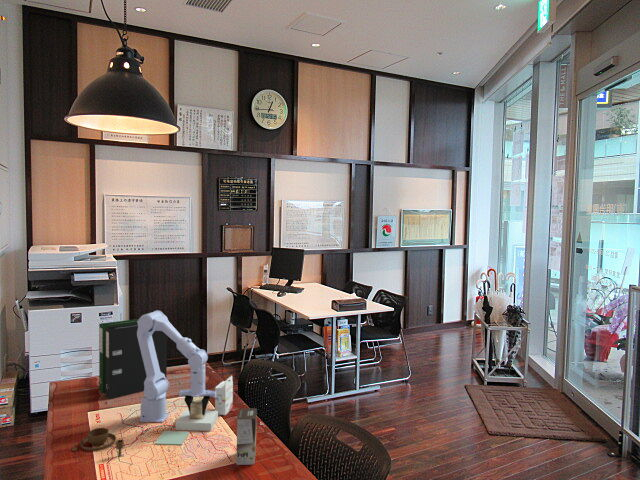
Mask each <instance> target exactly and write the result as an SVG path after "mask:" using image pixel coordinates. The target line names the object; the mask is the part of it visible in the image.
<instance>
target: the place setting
mask: <svg viewBox="0 0 640 480" xmlns="http://www.w3.org/2000/svg"><path fill="white" fill-rule="evenodd" d="M108 439H112V440H113V441H112V442H109V443H108V444H106V445H105V444H104V443H106V441H107V440H108ZM124 441H125V440H124V439H117V436H116V435H115V434H114V433H111V432H109V429H108V428H107V427H97V428H93V429H91V430H89V431H88V432H87V436H86V437H83V438H82V439H81V441H80V442H79V445H80V448H81V449H82V450H85V451H89V452H93V451H94V452H95V451H101V450H104V449H105V450H106V449H107V448H110V447H112V446H113V445H114V444H115V447H116V449H117V450H118V451H117V454H118V456H117V457H118V458H121V457H122V450H123V448H124V447H125V443H124ZM86 442H88V443H89V444H91V445H92V446H95V447H87V446H84V444H85V443H86ZM103 444H104V445H103ZM101 445H102V446H101ZM77 450H78V447H77V443H74V446H73V447H72V448H71V451H72V452H76V451H77Z"/></svg>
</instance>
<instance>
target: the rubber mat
mask: <svg viewBox="0 0 640 480" xmlns="http://www.w3.org/2000/svg"><path fill="white" fill-rule="evenodd" d="M189 434H190V431H185V430H176V431H175V430H168V431H167V430H163V432H162V433H161V434H160V435H159V437H158V438H157V440H156V441H155V442H154V445H158V446H159V445H160V446H162V445H163V446H164V445H166V446H169V445H170V446H182V445H183V444H184V443H185V441H186V439H187V437H189Z"/></svg>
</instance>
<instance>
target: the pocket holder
mask: <svg viewBox="0 0 640 480" xmlns="http://www.w3.org/2000/svg"><path fill="white" fill-rule="evenodd" d="M218 418H219V415H218V411H215V410H207V409H206V412H205V415H204V418H203V420H201V419H190V413H189V409H184V410H183V411H182V413H181V414H180V415H179V417H178V418H177V420H176V421H175V430H176V431H203V432H205V431H206V432H212V430H213V428H214V426H215V424H216V422H217V421H218Z"/></svg>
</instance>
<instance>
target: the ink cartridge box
mask: <svg viewBox="0 0 640 480" xmlns="http://www.w3.org/2000/svg"><path fill="white" fill-rule="evenodd" d="M214 391H216V397H215V398H214V403H215V404H214V405H215V406H214V411H218V416H227V414H228V413H229V412H230V411H231V410H232V409H233V402H234V397H233V394H234V382H233V375H230V376H229V377H228V378H227V379H226V380H223V381H221V382H220V383H218V385H216V386H215V388H214Z"/></svg>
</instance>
